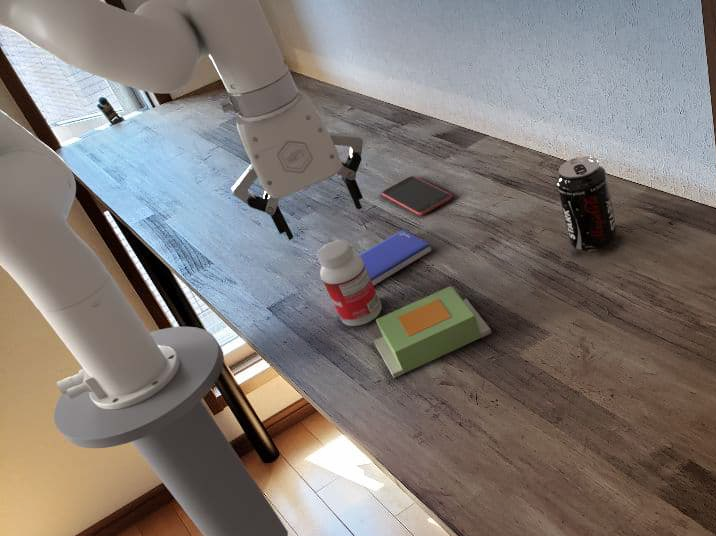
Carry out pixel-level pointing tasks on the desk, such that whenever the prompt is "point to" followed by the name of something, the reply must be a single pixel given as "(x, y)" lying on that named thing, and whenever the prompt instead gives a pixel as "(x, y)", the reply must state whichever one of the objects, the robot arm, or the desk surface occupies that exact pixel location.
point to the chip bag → (428, 330)
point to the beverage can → (586, 204)
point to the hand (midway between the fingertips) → (323, 220)
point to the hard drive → (393, 255)
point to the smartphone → (417, 195)
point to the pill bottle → (348, 283)
